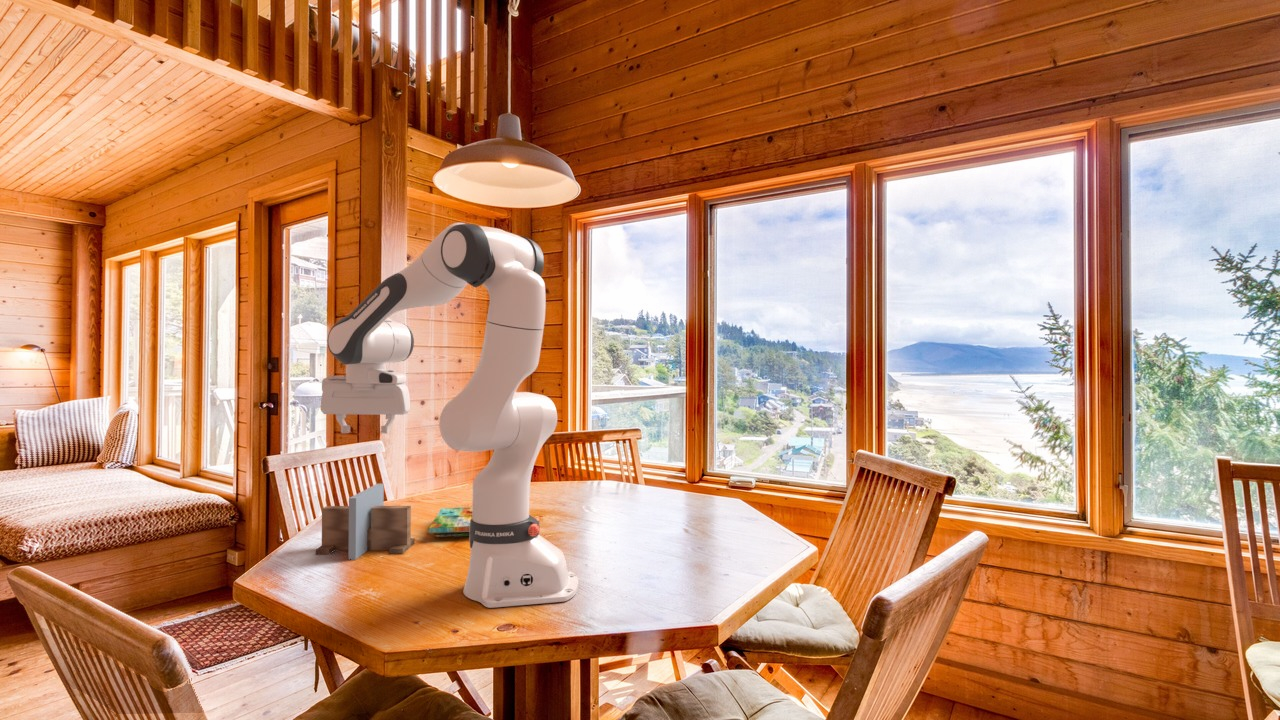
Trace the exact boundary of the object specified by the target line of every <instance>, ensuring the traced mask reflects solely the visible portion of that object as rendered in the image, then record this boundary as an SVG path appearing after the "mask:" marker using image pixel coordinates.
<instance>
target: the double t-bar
mask: <svg viewBox="0 0 1280 720" xmlns="http://www.w3.org/2000/svg"><path fill="white" fill-rule="evenodd" d="M411 509H412V506H411V505H384V506H374V507H373V508H371V528H369V529H368V530H367V551H389V555H403V554H404V553H406V552H407V551H408V550H409V549H410V548H411V547H413V546H414V545H415V538H412V537H411V536H412V535H411V532H412V531H411V526H412V524H411V523H412V522H411V521H412V518H411V517H412V515H411V513H412V512H411V511H412V510H411ZM334 550H338V551H349V505H326V506H324V507H322V508H321V546H319V547H317V548H315V555H330V554H332V553H333V552H334ZM406 550H407V551H406ZM332 551H333V552H332ZM331 552H332V553H331ZM329 553H330V554H329Z"/></svg>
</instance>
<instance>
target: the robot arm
mask: <svg viewBox="0 0 1280 720" xmlns="http://www.w3.org/2000/svg"><path fill="white" fill-rule="evenodd" d="M544 267H545V257H544V253H543V251H542V248H541V246H540V245H539V244H538V243H536V242H535V241H533V240H532V239H530V238H528V237H526V236H523V235H517V234H515V233H512V232H510V231H509V232H508V231H505V230H503V229H502V228H497V227H490V226H484V225H483V226H482V225H477V224H475V223H467V222H466V223H465V222H454V223H451V224H450V225H448V226H447V227H446V228H444V229H443V230H442V231H441V232H440V233H439V234H438V235H436V236H435V238H433V240H431V242H430V243H429V244H428V245H427V246H426V248H425V249H424V250H423V251H422V253H421V254H420V255H419V256H418V258H416V259H415V260H414V261H413V262H411V263H410V264H409V265H407V267H405V268H403V269H402V270H399V271H398V272H396V273H394V274H392V275H390V276H388V277H387V278H385V279H384V280H383V281H382V282H381V283H379V285H378V286H376V288H374V289H373V290H372V291H371V292H370V293H369V294H368V295H367V296H366V297H365V298H364V299H363V300H362V301H361V302H360V303H359V304H358V305H357V306H356V307H355V308H354V309H353V310H352V311H351V312H350V313H349V314H347V315H346V316H343V317H342V318H341V319H339V320H338V321H337V322H336V323H335V324H334V325H332V327H331V328H330V330H329V332H328V335H327V340H326V341H327V348H328V350H329V353H331V355H332V356H333V357H334V358H335V359H336V360H338V361H339V362H340V363H341V364H343V365H345V375H328V376H327V377H325V378H324V379H323V380H322V382H321V391H322V393H321V398H320V399H321V400H320V412H321V413H322V414H323V415H335V420H336V421H337V422H338V424H339V426H340V433H341V434H349V433H351V425H349V424H347V422H346V420H345V419H346V418H347V415H377V416H378V415H385V420H387V421H386V423H385V425H382V426H380V430H381V431H380V433H381V434H390V432H391V426H392V424H393V422H394V420H395V419H396V417H395V416H396V415H397V416H399V415H400V416H401V415H402V416H403V415H406V414H408V413H409V412H410V410H411V395H410V390H409V387H408V386H407V385H406V384H405V383H406V381H407V375H406V374H405V373H401V372H398V371H394V370H391V369H388V368H387V364H389V363H390V364H391V363H401V362H404V361H406V360H408V358H409V357H410V356H411V354H412V352H413V350H414V348H415V347H414V346H415V339H414V335H413V332H412V330H411V329H410V328H409V326H408V325H406V324H405V323H401V322H398V321H396V320H393V319H392V318H390V316H392V315H394V314H396V313H397V312H400V311H403V310H408V309H414V308H423V307H432V306H433V307H434V306H442V305H444V304H448V303H449V302H450V301H452V300H453V299H455V298H456V297H458V296H459V295H460V294H461V293H462V292H463V290H464V289H465V288H466V286H467V285H468V284H469V286H471V287H473V288H478V287H480V286H482V285H483V287H484V288H485V289H486V291H487V293H488V297H489V304H488V309H487V316H486V322H485V323H486V324H485V331H484V336H483V341H482V348H481V353H480V357H479V360H478V363H477V366H476V368H475V369H474V372H473V374H472V376H471V377H470V379H469V380H468V382H467V384H466V385H465V386H464V388H463V389H462V390H461V391H460V392H459V393H458V394H457V395H456V396H455V397H454V398H452V399H451V400H449V401H448V402H447V403H446V404H445V405H444V407H443V408H442V411H441V412H440V417H439V424H438V425H439V431H440V435H441V437H442V440H443V441H444V443H446V444H445V445H447V446H448V447H449V448H450V449H452V450H456V451H462V452H463V451H464V452H471V453H472V452H473V453H477V452H487V451H493V452H492V454H491V458H490V459H489V461H488V462H487V464H486V465H485V466H484V467H483V468H482V469H481V470H480V471H479V472H478V473H477V474H476V475H475V476H474V479H473V481H472V507H473V517H472V519H471V520H470V527H469V536H468V538H469V539H468V540H469V548H470V555H469V556H470V557H469V558H470V559H469V565H468V570H467V576H466V578H465V579H466V580H465V583H464V587H463V590H462V592H463V595H464V596H465V597H466V598H468V599H469V600H473V601H475V602H479V603H481V604H482V605H483V606H484V607H485V608H490V609H491V608H492V609H493V608H502V607H504V608H505V607H515V606H516V607H517V606H525V605H527V606H529V605H538V604H551V603H561V602H568V601H570V600H571V599H572V598H573V597H575V595H576V594H577V592H578V590H579V584H580V583H579V578H578V576H577V574H576V573H574V572H573V571H570V570H568V565H567V561H566V557H565V554H564V553H563V551H562V550H561V549H560V548H558V547H557V546H556V545H554V544H552V543H551V542H550V541H549V540H547V539H546V538H544V536H542V535H540V518H539V517H538V516H537V518H535V517H534V516H533V515H531V514H530V495H531V480H532V474H533V470H534V466H535V464H536V461H537V459H538V456H539V453H540V451H541V449H542V447H543V445H544V444H545V443H546V441H547V440H548V439H549V438H550V437H551V436H552V435H553V434H554V432H555V430H556V428H557V425H558V412H557V411H558V410H557V408H556V405H555V403H554V401H553V400H552V399H551V398H550V397H548V396H546V395H543V394H541V393H540V394H539V393H535V392H529V391H517V390H518V388H519V387H520V385H521V384H522V383H523V381H524V380H525V379H527V378H528V377H529V376H530V375H532V374H533V373H534V372H535V371H536V370H537V368H538V367H539V366H538V365H539V362H540V356H541V349H542V343H543V336H544V330H545V329H544V328H545V321H546V306H547V302H546V301H547V300H546V297H547V296H546V295H547V294H546V283H545V281H544V279H543V278H542V277H541V275H542V273H543V271H544Z"/></svg>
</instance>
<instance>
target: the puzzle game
mask: <svg viewBox="0 0 1280 720" xmlns="http://www.w3.org/2000/svg"><path fill="white" fill-rule="evenodd" d="M472 517H473V506H464V507H459V506H457V507H455V506H454V507H441V509H440V511H439V512H438V513H437V514H436V516H435V518H434V519H433V521H432V522H431V524H430V525H429V528H428V534H433V535H434V536H435V538H447V536H454V537H469V527H470V520H471V519H472Z"/></svg>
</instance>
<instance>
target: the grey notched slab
mask: <svg viewBox="0 0 1280 720" xmlns="http://www.w3.org/2000/svg"><path fill="white" fill-rule="evenodd" d="M384 484H385V483H376V484H373V485H372V486H370V487H367V488H366V489H364V490H362V491H360V492H358V493H356V494H354V495H352V496H350V497H349V498H348V506H349V550H348V561H356V560H358V559H359V558H360V557H361V556H363V555H365V554H366V551H367V552H368V550H367V530H368V529H369V528H371V508H373V507H374V506H385V505H384V499H385V498H384V497H385V492H384V489H385V487H384V486H385V485H384ZM350 559H351V560H350Z"/></svg>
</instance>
